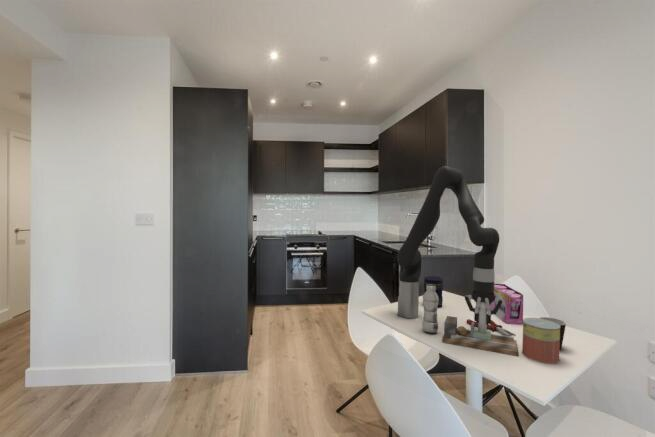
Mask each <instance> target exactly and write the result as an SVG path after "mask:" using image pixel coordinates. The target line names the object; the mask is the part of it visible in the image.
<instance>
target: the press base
mask: <svg viewBox="0 0 655 437" xmlns="http://www.w3.org/2000/svg"><path fill="white" fill-rule="evenodd" d="M443 322H444V323H443V325H444V327H443V328H444V330H443V335H442V338H441V343H442V344H443V343H445V344H450V345H454V346H460V347H466V348H472V349H477V350H481V351H487V352H493V353H498V354H504V355H510V356H515V357H519V348H518V342H517V340H516V339H515V338H514V336H511V335H510V336H511V337H510V336H507V335H503V334H499V333H498V334H497V333H491V341H488V340H482V339H476V338H470V334H471V329H467V328H466V327H465V326H463V325H460V326H458V317H457V316H450V315H446V318H445V320H444V321H443Z"/></svg>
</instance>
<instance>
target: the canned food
mask: <svg viewBox="0 0 655 437" xmlns="http://www.w3.org/2000/svg"><path fill="white" fill-rule="evenodd" d="M539 318H540V317H539ZM539 318H538V317H526V318H523V324H522V345H521V346H522V348H521V354H522V356H524V357H525V358H527V359H529V360H532V361H535V362H538V363H542V364H551V365H552V364H557V363H559V362H560V350H559V349H560V328H561V326H560V325H559V324H557V323H555V322H552V321H549V320H545V319H539Z"/></svg>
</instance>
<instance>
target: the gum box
mask: <svg viewBox="0 0 655 437" xmlns="http://www.w3.org/2000/svg"><path fill="white" fill-rule="evenodd" d="M494 295H495V297H496V298H498V299H501V300H502V304H501V306H500V308H499V310H498V311H497V313H496V314H495V315H496V316H497V318H499V319H500V320H501V321H502V322H503V323H505V324H514V325H523V319H524V294H523V293H521V292H519V291H517V290H515V289H513V288H512V287H510V286H508V285H506V284H505V283H494ZM495 306H496V303H495V300H494V301H493V302H492V303H491V304H490V309H491V310H493V309H494V308H495ZM495 315H494V316H495Z"/></svg>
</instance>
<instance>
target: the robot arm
mask: <svg viewBox="0 0 655 437" xmlns="http://www.w3.org/2000/svg"><path fill="white" fill-rule="evenodd" d="M446 189H447V190H448V189H449V190H451V192H453V194H454V195H455V197H456V198H457V204H458V205H457V208H458V211H459V213H460V215H461V217H462V219H463V221H464V222H465V224H466V229H467V233H468V237H469V240H470V242H471V243H472V244H473V245H475V246H477V247H481V250H480V251H477V252H475V254H474V256H473V260H474V261H473V271H472V292H471V294H468V295H467V294H466V295H465V296H464V300H465V304H466V305H467V307H468V309H469V312H473V313H474V314H473V315H474V316H473V318H474V319H473V321H475V322H476V323H478V310H479V306H480V303H481V302H484V303H486V308H487V325H490V324H489V323H491V320H492V318H491V317H492V315H494V316H495V314H496V313H497V311H498V310H499V308H500V306H501V304H502V300H501V299H498V298H496V297H495V295H494V284H495V279H496V278H495V276H496V275H495V256H496V253H497V250H498V247H499V245H500V244H499V243H500V234H499V231H498V230H497V229H496V228H494V227H482V226H481V225H483V224H484V222H485V217H484V215H483V213H482V212H481V210H480V209H479V206H477V204H476V202H475V200H474V198H473V197H472V194H471V191H470V190H469V186H468V184H467V181H466V180H465V177H464V174H463V172H462V171H461V170H460V169H458V168H454V167H451V166H448V165H442V166H441V167H439V168H438V169H437V170H436V172H435V174H434V176H433V179H432V182H431V184H430V187H429V190H428V193H427V195H426V198H425V199H424V201H423V204H422V206H421V208H420V209H419V211H418V214H417V215H416V218H415V220H414V223H413V224H412V227H411V229H410V231H409V233H408V235H407V237H406V239H405V240H404V242H403V244H402V245H401V247H400V249H399V251H398V252H397V255H396V262H397V264H398V266H399V267H401V268H403V269H402V272H401V273H400V274H399V282H398V283H399V288H398V289H399V290H398V292H399V293H398V296H397V316H399V317H402V318H405V319H416V318H418V317H419V304H420V303H419V299H420V298H419V297H420V295H419V294H420V293H419V291H420V287H419V286H420V277H421V275H422V261H423V260H422V253H421V252H420V250H419V248H420V247H421V244H422V243H423V242H424V241H425V240H426V239H427V238H428V237H429V236H430V235H431V233H433V231H434V229H435V228H436V226H437V224H438V222H439V220H440V217H441V199H442V197H443V194H444V192H445V190H446ZM472 299H473V301H474V303H475V307H474V306H473V304H472V302H471V301H472ZM494 300H495V303H496V306H495V308H494V309H493V310H491V309H490V304H491V303H492V302H493V301H494Z"/></svg>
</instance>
